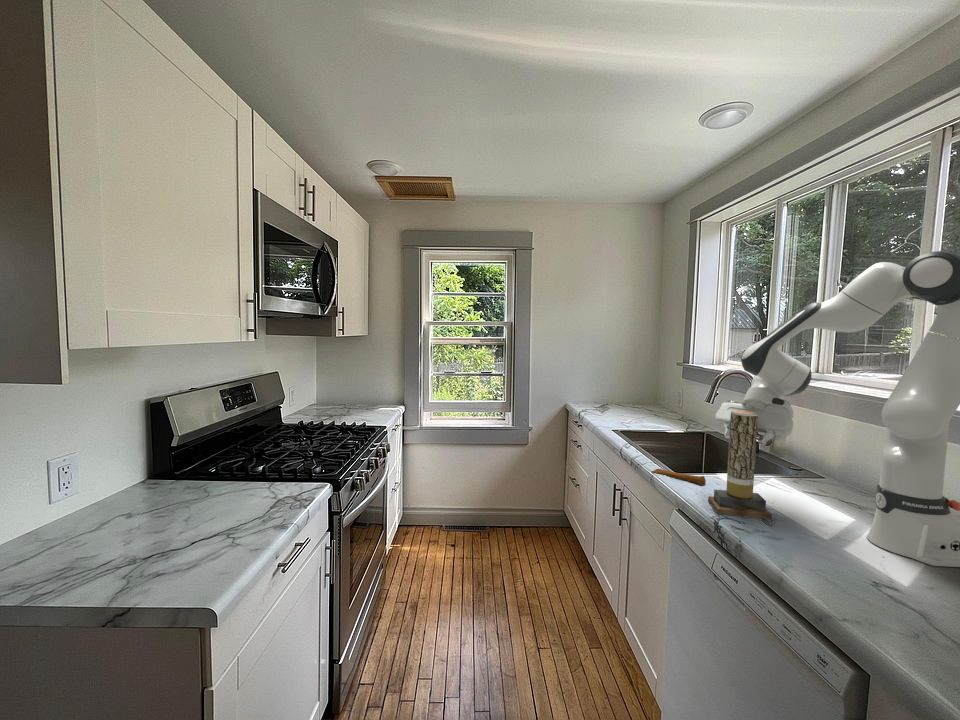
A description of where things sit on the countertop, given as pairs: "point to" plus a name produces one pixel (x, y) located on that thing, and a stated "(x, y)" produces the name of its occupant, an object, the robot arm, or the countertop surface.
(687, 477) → the primitive tool
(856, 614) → the countertop surface
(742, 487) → the bark patterned cylinder
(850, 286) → the robot arm
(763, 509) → the stand
